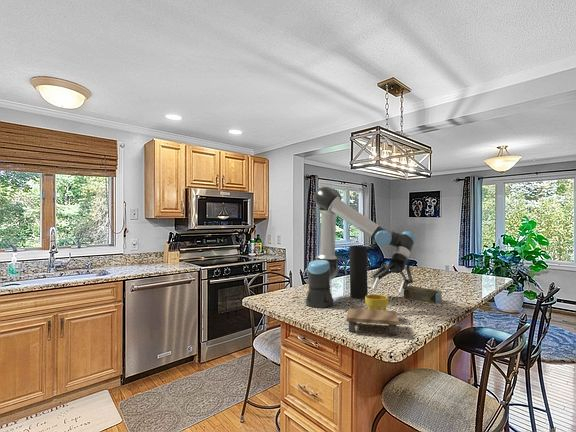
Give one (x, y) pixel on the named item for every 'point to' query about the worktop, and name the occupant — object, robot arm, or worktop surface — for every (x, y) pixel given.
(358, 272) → the vase
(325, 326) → the worktop surface
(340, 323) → the worktop surface
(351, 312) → the shelf stand
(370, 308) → the plant pot
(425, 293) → the beverage carton
